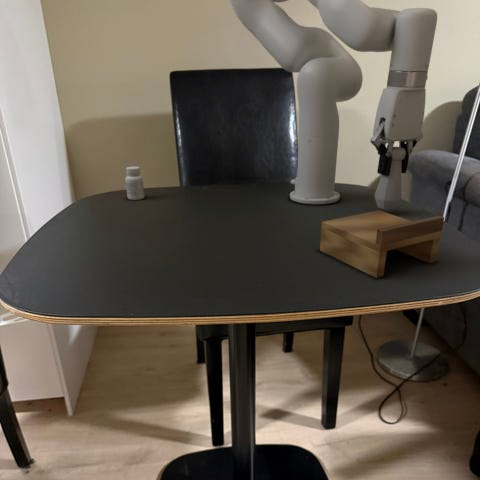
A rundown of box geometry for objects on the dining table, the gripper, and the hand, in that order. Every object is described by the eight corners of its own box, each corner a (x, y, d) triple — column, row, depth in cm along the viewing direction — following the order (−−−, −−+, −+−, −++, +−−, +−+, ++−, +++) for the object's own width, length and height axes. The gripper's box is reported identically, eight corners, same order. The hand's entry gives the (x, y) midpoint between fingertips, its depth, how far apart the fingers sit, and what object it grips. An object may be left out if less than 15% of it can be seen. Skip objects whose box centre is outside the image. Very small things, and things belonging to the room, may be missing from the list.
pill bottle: (138, 195, 128) (134, 165, 124) (148, 197, 125) (144, 167, 122) (124, 198, 125) (120, 167, 121) (134, 201, 123) (130, 170, 119)
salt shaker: (368, 204, 111) (376, 145, 105) (388, 202, 113) (398, 144, 107) (383, 211, 107) (393, 150, 100) (404, 209, 108) (415, 149, 102)
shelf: (319, 250, 90) (322, 208, 86) (375, 237, 96) (380, 197, 92) (376, 278, 79) (382, 231, 75) (435, 261, 84) (444, 217, 81)
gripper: (421, 79, 103) (406, 166, 112) (362, 81, 96) (350, 173, 105) (450, 81, 98) (431, 172, 107) (389, 83, 90) (375, 181, 100)
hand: (391, 172), depth 106 cm, fingers closed on salt shaker, 4 cm apart
